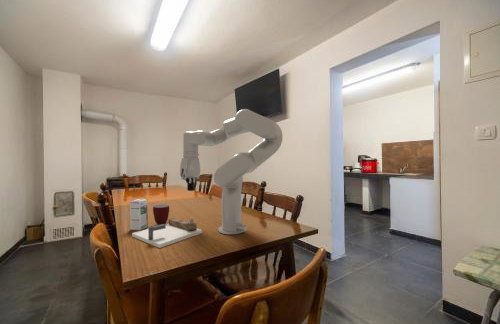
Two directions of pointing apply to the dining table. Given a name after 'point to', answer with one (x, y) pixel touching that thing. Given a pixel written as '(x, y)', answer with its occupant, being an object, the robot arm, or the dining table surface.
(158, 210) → the mug
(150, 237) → the block
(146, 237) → the pintle board
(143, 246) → the dining table surface
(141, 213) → the syrup box
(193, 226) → the walnut link
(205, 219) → the dining table surface
